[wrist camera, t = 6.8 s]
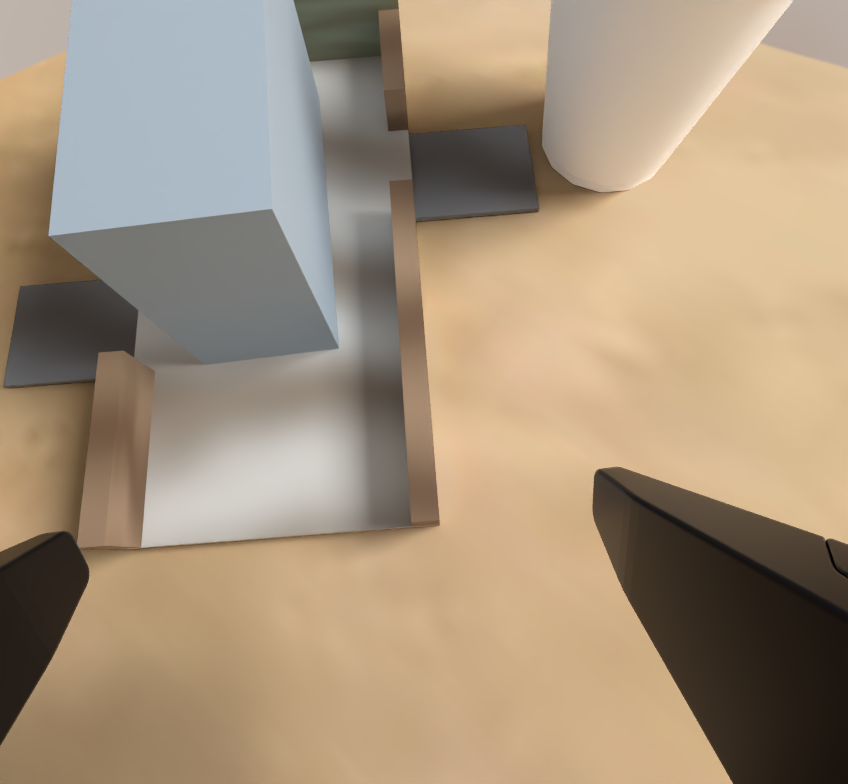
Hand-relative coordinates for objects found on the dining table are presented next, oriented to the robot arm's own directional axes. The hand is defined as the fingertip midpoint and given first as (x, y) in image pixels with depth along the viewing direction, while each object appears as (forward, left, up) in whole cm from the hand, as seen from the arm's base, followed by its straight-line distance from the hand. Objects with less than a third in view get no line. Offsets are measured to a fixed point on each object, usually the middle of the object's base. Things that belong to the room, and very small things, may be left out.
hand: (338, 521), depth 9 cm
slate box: (+11, +12, -13) cm, 21 cm away
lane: (+9, +11, -13) cm, 19 cm away
